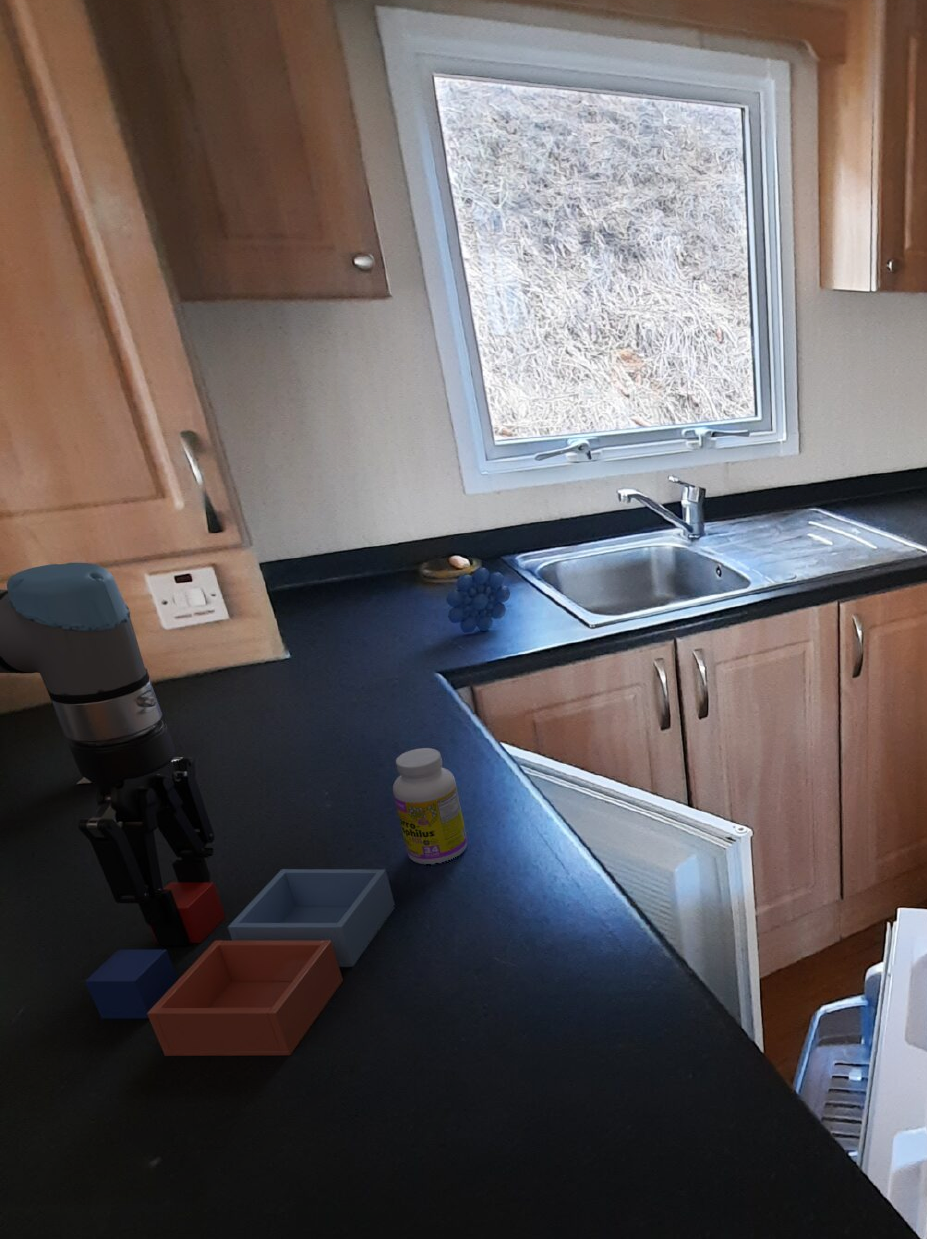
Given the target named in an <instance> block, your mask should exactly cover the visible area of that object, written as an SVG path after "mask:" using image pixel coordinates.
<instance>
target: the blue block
mask: <svg viewBox="0 0 927 1239" xmlns="http://www.w3.org/2000/svg"><path fill="white" fill-rule="evenodd" d="M178 980H179V977H178V975H177V973H176V970H175V968H174V966H173V963H172V960H171V958H170V955H169V953H168V950H167V949H118V950H117V951H115V952H113V954H112V955H111V956H110V957H109V958H108V959H106V960H105V961H104V962H103V963H102V964H101V965H100V966H99V967H98V968H97V969H96V970H95V971H94V972H93V973H92V974H91V975H89V976H88V978H86V979H85V980H84V983H85V985H86V987H87V989H88V992H89V994H90V996H91V998H92V1000H93V1002H94V1004H95V1007H96V1009H97V1011H98V1013H99V1015H100V1018H101V1019H149V1017H148V1015H147V1013H148V1012H149V1011H150V1009H151V1008H152V1007H153V1006H154V1005H155V1004H156V1003H157V1002H158V1001H159V1000H160V999H161V998H162V997H163V996H164V995H165V993H166V992H167V991H168V990H169V989H170V988H171V987H172V986H173V985H174V984H175V983H176V982H177V981H178Z"/></svg>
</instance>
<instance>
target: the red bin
mask: <svg viewBox="0 0 927 1239" xmlns="http://www.w3.org/2000/svg"><path fill="white" fill-rule="evenodd" d="M343 982H344V978H343V976H342V972H341V969H340V967H339V965H338V962H337V959H336V955H335V952H334V948H333V945H332V942H331V940H325V941H232V940H220V939H219V940H218V939H217V940H214V941H213V942H212V943H211V944H210V945H209V946H208V947H207V948H206V950H204V951H203V952H202V954H200V956H198V958H197V959H196V960H195V961H194V962H193V963H192V965H190V967H188V969H187V970H186V971H185V972H184V973H183V974H182V975H181V976H180V977H178V981H177V982H176V983H175V984H174V985H173V986H172V987H171V988H170V989H169V990H168V991H167V992H166V993H165V995H164V996H163V997H162V998H161V999H160V1000H159V1001H158V1002H157V1003H156V1004H155V1005H154V1006H153V1007H152V1008H151V1009H150V1011H149V1012H148V1013H147V1015H148V1017H149V1018H148V1019H149V1022H150V1023H151V1027H152V1029H153V1031H154V1035H155V1036H156V1038H157V1041H158V1043H159V1046H160V1048H161V1050H162V1052H163V1054H164V1057H210V1056H211V1057H220V1056H221V1057H227V1056H228V1057H233V1056H234V1057H236V1056H237V1057H239V1056H240V1057H241V1056H244V1057H245V1056H246V1057H247V1056H248V1057H249V1056H250V1057H252V1056H261V1057H262V1056H265V1057H267V1056H270V1057H271V1056H273V1057H274V1056H280V1057H281V1056H285V1057H286V1056H291V1055H292V1054H293V1052H294V1051H295V1049H296V1048H297V1046H298V1045H299V1043H300V1042H301V1041H302V1039H303V1038H304V1037H305V1035H306V1034H307V1032H308V1031H309V1029H310V1028H311V1027H312V1025H313V1024H314V1023H315V1021H316V1020H317V1019H318V1017H319V1016H320V1014H321V1013H322V1011H323V1010H324V1008H325V1007H326V1005H327V1004H328V1003H329V1001H330V1000H331V999H332V997H333V996H334V994H335V993H336V992H337V990H338V989H339V987H340V986H341V985H342V983H343Z"/></svg>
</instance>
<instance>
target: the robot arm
mask: <svg viewBox="0 0 927 1239" xmlns="http://www.w3.org/2000/svg"><path fill="white" fill-rule="evenodd" d="M0 674H20V675H21V674H40V678H41V680H42V682H43V684H44V686H45V689H46V691H47V693H48V697H49V699H50V701H51V704H52V706H53V710H54V713H55V715H56V717H57V720H58V722H59V725H60V728H61V730H62V734H63V735H64V736H65V737H66V739H69V740H70V741H69V743H68V746H69V750H70V751H71V755H72V757H73V759H74V761H75V764H76V767H77V769H78V771H79V772H78V773H79V774H80V775H81V776H82V778H84V777H85V778H86V779H88V780H89V781H90V782H92V783H91V784H93V785H94V787H95V790H96V804H97V806H98V808H97V809H96V811H95V813H94V814H93V815H92V817H91V818H90V817H89V818H87V817H86V818H85V817H83V818H81V819H80V820H79V822H78V823H77V824H78V830H79V831H80V832H81V833H82V834H83V835H84V836H85V837H86V839H88V840H89V841H90V844H91V846H92V848H93V851H94V853H95V856H96V858H97V860H98V863H99V865H100V868H101V870H102V872H103V875H104V877H105V880H106V882H107V884H108V887H109V889H110V891H111V894H112V896H113V899H114V901H115V903H117V904H138V906H139V909H140V911H141V914H142V916H143V918H144V921H145V923H146V924H147V925H148V926H149V925H151V927H152V930H153V933H154V935H155V938H156V940H157V943H156V944H157V945H158V946H159V947H186V946H187V945H188V944H190V943H189V942H190V940H189V937H188V934H187V932H186V929H185V926H184V923H183V921H182V918H181V915H180V913H179V910H178V907H177V905H176V902H175V899H174V897H173V894H172V891H171V890H164V887H163V881H162V875H161V869H160V868H161V867H160V864H159V863H160V862H159V856H158V851H157V843H156V839H155V832H154V831H156V830H157V829H158V830H159V832H160V833H161V835H162V836H163V838H164V839H165V841H166V843H167V844H168V846H169V847H170V849H171V850H172V852H173V853H174V855H175V856H176V857H177V858H181V859H176V860H174V861H173V862H172V863H171V865H172V868H173V871H174V874H175V876H176V879H177V882H209V883H211V873H210V871H209V868H208V865H207V862H206V859H205V858H212V857H213V855H214V848H213V847H206V846H207V844H211V843H213V842H214V840H215V833H214V830H213V826H212V824H211V820H210V819H209V814H208V811H207V809H206V806H205V803H204V799H203V796H202V794H201V791H200V788H199V784H198V782H197V778H196V762H195V759H194V758H193V757H191V756H189V757H188V756H187V757H185V756H184V757H183V756H181V757H180V756H176V748H175V745H174V742H173V740H172V737H171V733H170V731H169V728H168V725H167V723H166V722H165V721H164V720H162V719H161V718H162V717H163V713H162V709H161V707H160V704H159V701H158V698H157V696H156V693H155V691H154V688H153V684H152V681H151V679H150V677H151V676H150V674H149V671H148V669H147V668H146V666H145V663H144V660H143V657H142V653H141V649H140V645H139V643H138V639H137V635H136V631H135V628H134V625H133V622H132V618H131V611H130V608H129V606H128V604H126V602H125V600H124V598H123V595H122V593H121V591H120V589H119V587H118V584H117V582H116V580H115V577H114V576H113V573H112V572H110V571H109V570H108V569H107V568H105V567H104V566H101V565H99V564H96V563H91V562H67V563H59V564H58V563H52V564H45V565H39V566H35V567H31V568H27V569H24V570H20V571H18V572H16V573H15V574H12V575H11V577H9V578H8V580H7V582H6V589H2V588H1V589H0ZM196 830H199V831H196ZM153 933H152V934H153ZM155 938H154V939H155Z"/></svg>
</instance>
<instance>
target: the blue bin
mask: <svg viewBox="0 0 927 1239" xmlns="http://www.w3.org/2000/svg"><path fill="white" fill-rule="evenodd" d="M393 896H394V895H393V893H392V888H391V885H390V881H389V878H388V873H387V869H379V868H378V869H374V868H373V869H371V868H369V869H367V868H366V869H365V868H364V869H363V868H362V869H361V868H359V869H358V868H356V869H355V868H353V869H347V868H346V869H345V868H344V869H343V868H340V869H333V868H332V869H329V868H328V869H327V868H326V869H325V868H323V869H321V868H319V869H317V868H316V869H314V868H313V869H312V868H311V869H308V868H306V869H305V868H291V869H290V868H281V869H280V871H278V873H276V874H275V875H274V877H273V878H272V879H271V880H270V881H269V882H268V883H267V884H266V885H265V886H264V888H262V890H261V891H260V892H259V893H258V894H257V895H256V896H255V897H254V898H253V899H252V900H251V901H250V902H249V903H248V904H247V905H246V906H245V908H244V909H242V911H241V912H240V913H239V914H238V915H237V916H236V917H235V918H234V920H233V921H232V922H230V924H229V925H228V926H227V931H228V933H229V936H230V938H231V941H325V940H331V942H332V945H333V948H334V952H335V955H336V959H337V962H338V965H339V968H353V967H354V966H355V965H356V963H357V962H358V961H359V959H360V958H361V956H363V953H364V952H365V951H366V949H367V948H368V946H369V945H370V943H371V942H372V941H373V939H374V938H375V936H376V935H377V934H378V932H379V931H380V929H381V928H382V927H383V925H384V924H385V923H386V921H387V920H388V918H389V917H390V915H391V914H392V913H393V911H394V910H395V908H396V905H395V901H394V897H393ZM394 905H395V907H394V908H393V906H394ZM392 908H393V909H392ZM391 910H392V911H391ZM390 911H391V912H390ZM389 913H390V914H389ZM388 914H389V915H388ZM386 917H387V918H386ZM385 918H386V919H385ZM384 920H385V921H384ZM383 921H384V922H383ZM381 924H382V925H381ZM380 925H381V926H380ZM378 928H379V929H378ZM377 929H378V931H377ZM376 931H377V932H376ZM375 932H376V933H375ZM374 934H375V935H374ZM369 941H370V942H369Z"/></svg>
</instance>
